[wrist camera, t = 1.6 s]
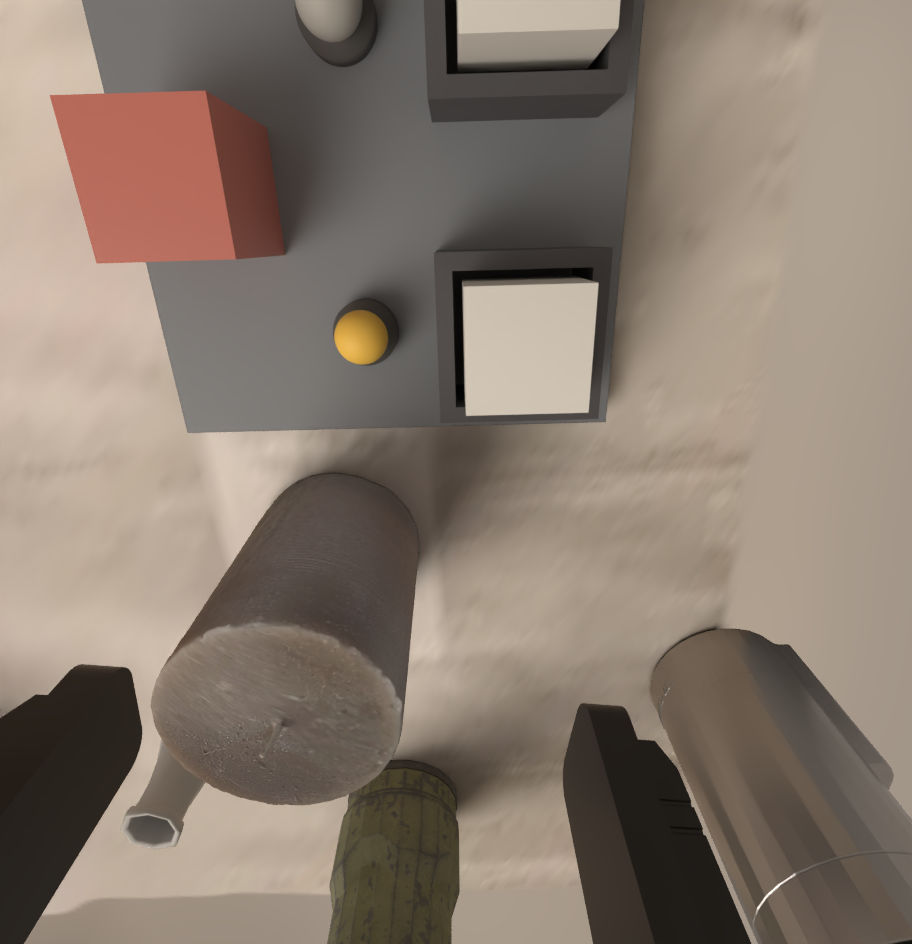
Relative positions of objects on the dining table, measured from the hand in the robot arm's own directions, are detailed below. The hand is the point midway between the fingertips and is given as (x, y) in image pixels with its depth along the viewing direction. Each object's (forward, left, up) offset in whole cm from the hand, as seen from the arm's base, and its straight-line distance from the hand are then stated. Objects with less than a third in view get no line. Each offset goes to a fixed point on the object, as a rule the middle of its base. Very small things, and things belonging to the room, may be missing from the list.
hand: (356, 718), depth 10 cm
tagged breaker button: (-5, -4, -17) cm, 18 cm away
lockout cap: (+8, -10, -19) cm, 23 cm away
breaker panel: (+1, -10, -21) cm, 24 cm away
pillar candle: (+5, +9, -22) cm, 24 cm away
